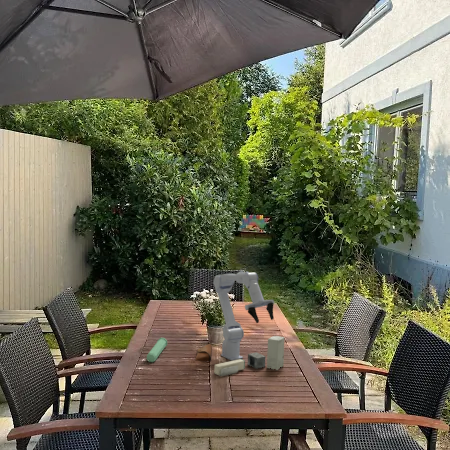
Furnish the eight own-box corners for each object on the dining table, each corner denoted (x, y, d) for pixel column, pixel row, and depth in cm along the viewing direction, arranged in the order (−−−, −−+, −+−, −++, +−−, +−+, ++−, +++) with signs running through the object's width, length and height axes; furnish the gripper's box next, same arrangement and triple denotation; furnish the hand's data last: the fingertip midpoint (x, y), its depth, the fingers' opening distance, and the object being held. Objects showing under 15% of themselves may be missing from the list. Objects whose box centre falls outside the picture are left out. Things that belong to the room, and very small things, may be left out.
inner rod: (214, 373, 228) (214, 364, 228) (240, 366, 238) (241, 358, 237) (218, 375, 226) (218, 366, 225) (244, 368, 235) (244, 360, 235)
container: (153, 351, 240) (165, 336, 264) (142, 355, 240) (155, 339, 265) (157, 362, 240) (169, 346, 265) (147, 366, 240) (159, 349, 265)
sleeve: (214, 373, 230) (215, 366, 229) (231, 369, 236) (231, 362, 235) (220, 376, 226) (221, 369, 225) (237, 372, 232) (238, 365, 231)
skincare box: (277, 370, 236) (278, 340, 235) (266, 368, 239) (267, 338, 238) (283, 365, 243) (285, 336, 242) (272, 363, 246) (274, 334, 245)
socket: (247, 364, 243) (248, 354, 243) (255, 362, 246) (256, 352, 246) (256, 368, 237) (257, 358, 237) (264, 366, 241) (265, 356, 240)
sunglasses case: (196, 349, 263) (202, 339, 263) (207, 356, 264) (213, 346, 263) (194, 360, 245) (201, 350, 245) (206, 368, 246) (213, 357, 245)
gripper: (244, 294, 229) (253, 320, 222) (271, 288, 234) (281, 314, 227) (240, 300, 235) (249, 326, 228) (267, 294, 239) (277, 319, 233)
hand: (265, 320), depth 228 cm, fingers open, 7 cm apart
